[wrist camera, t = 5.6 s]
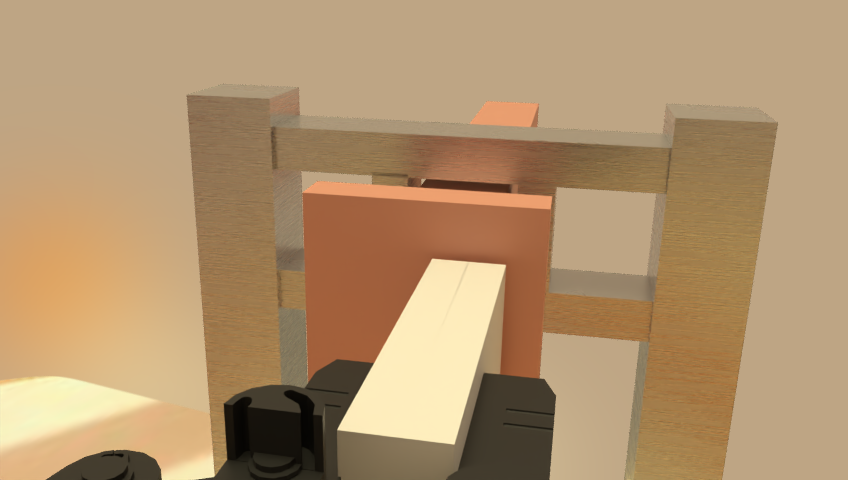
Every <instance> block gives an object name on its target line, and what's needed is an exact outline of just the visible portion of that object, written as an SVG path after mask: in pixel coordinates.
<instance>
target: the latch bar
mask: <svg viewBox="0 0 848 480" xmlns="http://www.w3.org/2000/svg"><path fill="white" fill-rule="evenodd" d="M538 108H539V104H534V103H511V102H489V101H488V102H486V103H485V105H484V106H483V107H482V108H481V110H480V111H479V112H478V114H477V115H476V116H475V117H474V119H473V120H472V121H471V123H470V124H480V125H500V126H519V127H537V124H538V123H537V122H538ZM302 194H303V227H304V261H305V294H306V325H307V326H306V327H307V360H308V382H309V381H310V379H311V378H312V377H313V375H314V374H315V372H316V371H318V370H320V369H321V368H323V367H325V366H326V365H328V364H330V363H331V362H333V361H335V360H336V359H341V360H350V361H359V362H369V363H375V361H376V359H377V357H378V355H379V354H380V352H381V350H382V348H383V346H384V345H385V343H386V341H387V339H388V337H389V336H390V334H391V332H392V330H393V328H394V327H395V325H396V323H397V321H398V319H399V318H400V316H401V314H402V312H403V310H404V309H405V307H406V305H407V303H408V302H409V300H410V298H411V296H412V294H413V293H414V291H415V289H416V287H417V285H418V284H419V282H420V280H421V278H422V276H423V275H424V273H425V271H426V269H427V267H428V266H429V264H430V262H431V260H432V259H441V260H453V261H465V262H477V263H489V264H501V265H506V276H505V295H504V313H503V331H502V350H501V368H500V374H501V375H511V376H520V377H529V378H540V363H541V350H542V335H543V321H544V307H545V293H546V278H547V264H548V250H549V236H550V222H551V207H552V196H541V195H525V194H518V185H516V184H500V183H484V182H468V181H452V180H437V179H426V180H425V181H424V183H423V184H422V185H421V186H420V188H417V187H402V186H386V185H369V184H356V183H355V184H354V183H340V182H325V181H317V182H316V183H314V184H313V185H312V186H310V187H309V188H308V189H307V190H305V191H304V192H303V193H302Z"/></svg>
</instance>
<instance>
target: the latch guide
mask: <svg viewBox="0 0 848 480" xmlns="http://www.w3.org/2000/svg"><path fill="white" fill-rule="evenodd" d="M187 105H188V119H189V132H190V147H191V158H192V159H191V160H192V172H193V173H192V174H193V186H194V201H195V214H196V227H197V240H198V255H199V268H200V282H201V296H202V309H203V323H204V336H205V349H206V363H207V376H208V391H209V404H210V418H211V432H212V445H213V459H214V472H215V475H216V474H217V473H218V471H219V470H220V469H221V467H222V466H223V464H224V463H225V462H226V460H227V449H226V434H225V419H224V403H225V402H226V401H228V400H229V399H230V398H232V397H233V396H234V395H236V394H238V393H241V392H243V391H246V390H248V389H251V388H255V387H261V386H267V385H293V386H297V387H301V388H305V387H306V385H307V384H308V375H307V342H306V294H305V261H304V243H303V210H302V178H301V171H310V172H325V173H341V174H342V173H343V174H357V175H372V185H386V186H402V187H417V188H420V186H421V179H437V180H452V181H468V182H484V183H500V184H516V185H518V194H525V195H541V196H552V207H551V222H550V236H549V250H548V264H547V278H546V293H545V307H544V321H543V332H546V333H557V334H558V333H559V334H568V335H579V336H590V337H600V338H611V339H621V340H632V341H640V343H639V352H638V361H637V369H636V379H635V387H634V397H633V405H632V414H631V423H630V432H629V441H628V450H627V459H626V468H625V477H624V480H722V477H723V471H724V464H725V458H726V452H727V445H728V439H729V432H730V426H731V420H732V413H733V406H734V399H735V394H736V388H737V381H738V374H739V368H740V362H741V356H742V349H743V343H744V337H745V330H746V324H747V317H748V310H749V305H750V298H751V292H752V285H753V279H754V272H755V265H756V260H757V253H758V247H759V241H760V234H761V228H762V221H763V215H764V208H765V202H766V196H767V189H768V183H769V177H770V170H771V164H772V157H773V151H774V145H775V138H776V132H777V126H778V122H776V121H775V120H774V119H772V118H771V117H770V116H768V115H767V114H766V113H764V112H763V111H761V110H760V109H759V108H750V107H749V108H748V107H728V106H705V105H703V106H702V105H683V104H682V105H681V104H666V110H665V120H664V128H663V134H657V133H637V132H618V131H598V130H578V129H558V128H538V127H519V126H500V125H480V124H460V123H440V122H421V121H420V122H419V121H401V120H381V119H361V118H341V117H340V118H339V117H322V116H302V115H300V111H299V88H298V87H278V86H277V87H276V86H255V85H233V84H222V85H218V86H215V87H211V88H208V89H205V90H201V91H198V92H194V93H191V94H188V95H187ZM557 187H564V188H580V189H597V190H612V191H628V192H643V193H656V200H655V210H654V218H653V228H652V235H651V245H650V253H649V263H648V272H647V276H643V275H630V274H618V273H617V274H616V273H604V272H593V271H579V270H567V269H555V268H551V264H552V263H551V262H552V249H553V236H554V223H555V209H556V208H555V207H556V195H557Z"/></svg>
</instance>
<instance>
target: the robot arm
mask: <svg viewBox="0 0 848 480" xmlns="http://www.w3.org/2000/svg"><path fill="white" fill-rule="evenodd" d="M505 276H506V265H501V264H489V263H477V262H465V261H453V260H441V259H432V260H431V262H430V264H429V266H428V267H427V269H426V271H425V273H424V275H423V276H422V278H421V280H420V282H419V284H418V285H417V287H416V289H415V291H414V293H413V294H412V296H411V298H410V300H409V302H408V303H407V305H406V307H405V309H404V310H403V312H402V314H401V316H400V318H399V319H398V321H397V323H396V325H395V327H394V328H393V330H392V332H391V334H390V336H389V337H388V339H387V341H386V343H385V345H384V346H383V348H382V350H381V352H380V354H379V355H378V357H377V359H376V361H375V363H369V362H359V361H350V360H341V359H336V360H335V361H333V362H331V363H330V364H328V365H326V366H325V367H323V368H321V369H320V370H318V371H316V372H315V374H314V375H313V377H312V378H311V379H310V381H309V382H308V384H307V385H306V387H305V388H301V387H297V386H293V385H267V386H261V387H255V388H251V389H248V390H246V391H243V392H241V393H238V394H236V395H234V396H233V397H232V398H230V399H229V400H228V401H226V402H225V403H224V419H225V434H226V449H227V460H226V462H225V463H224V464H223V466H222V467H221V469H220V470H219V471H218V473H217V474H216V475H215V477H212V478H205V479H198V480H549V477H550V465H551V451H552V439H553V426H554V414H555V401H556V395H555V394H554V393H553V391H552V390H551V388H550V387H549V385H548V384H547V382H546V381H545V379H539V378H529V377H520V376H511V375H501V374H500V368H501V350H502V331H503V313H504V295H505ZM46 480H162V478H161V469H160V467H159V465H158V463H157V461H156V460H155V459H154V458H152V457H150V456H148V455H146V454H145V453H141V452H135V451H129V450H116V451H114V450H111V451H104V452H101V453H98V454H94V455H91V456H87V457H84V458H82V459H80V460H78V461H76V462H74V463H72V464H70V465H68V466H66V467H65V468H63V469H62V470H60V471H59V472H57V473H55V474H54V475H52V476H51V477H49V478H48V479H46Z"/></svg>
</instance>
